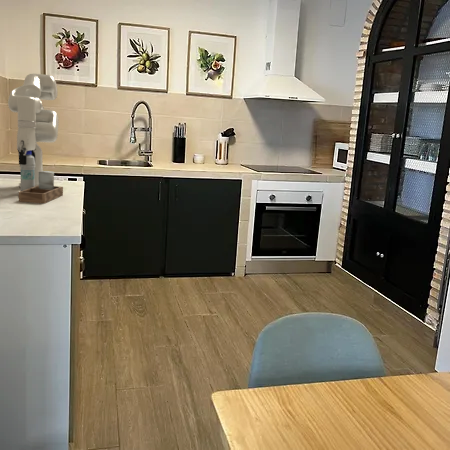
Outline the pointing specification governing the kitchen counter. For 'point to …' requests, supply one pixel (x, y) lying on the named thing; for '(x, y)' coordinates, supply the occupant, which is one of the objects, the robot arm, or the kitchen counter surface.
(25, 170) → the bottle
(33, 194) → the wooden divided box
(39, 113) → the robot arm
